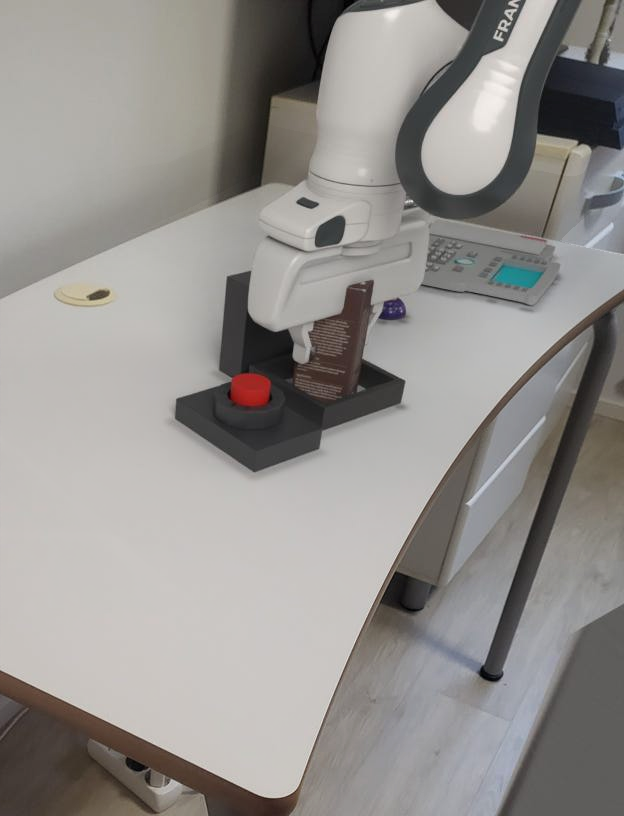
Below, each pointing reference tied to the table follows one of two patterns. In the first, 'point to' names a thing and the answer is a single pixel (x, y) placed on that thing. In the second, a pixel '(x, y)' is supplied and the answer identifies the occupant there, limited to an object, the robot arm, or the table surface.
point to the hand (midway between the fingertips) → (329, 352)
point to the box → (337, 348)
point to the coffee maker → (293, 365)
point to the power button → (250, 389)
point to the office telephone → (488, 262)
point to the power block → (249, 427)
